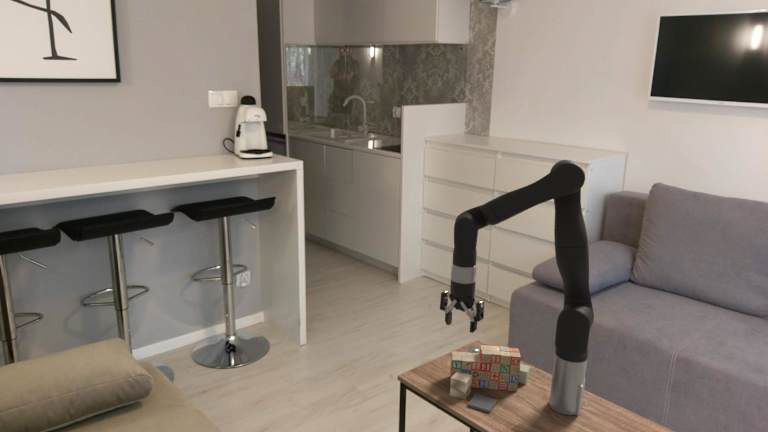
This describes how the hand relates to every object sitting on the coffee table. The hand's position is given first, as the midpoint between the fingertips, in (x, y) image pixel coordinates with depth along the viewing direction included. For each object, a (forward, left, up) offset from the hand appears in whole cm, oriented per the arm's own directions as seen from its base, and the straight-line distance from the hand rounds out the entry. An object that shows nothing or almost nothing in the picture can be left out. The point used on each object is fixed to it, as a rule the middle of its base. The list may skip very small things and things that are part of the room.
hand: (460, 327), depth 181 cm
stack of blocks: (-6, -8, -22) cm, 24 cm away
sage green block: (-16, -17, -21) cm, 32 cm away
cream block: (-2, +2, -21) cm, 21 cm away
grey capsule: (+1, -18, -21) cm, 28 cm away
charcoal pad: (-10, +4, -21) cm, 24 cm away
